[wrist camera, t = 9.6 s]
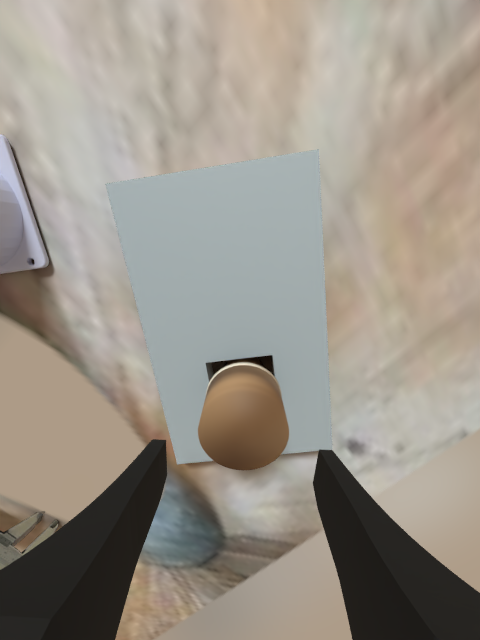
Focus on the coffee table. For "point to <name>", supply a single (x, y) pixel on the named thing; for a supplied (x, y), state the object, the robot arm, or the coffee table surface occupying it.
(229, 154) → the coffee table surface
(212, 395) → the peg
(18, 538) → the caliper
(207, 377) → the board
